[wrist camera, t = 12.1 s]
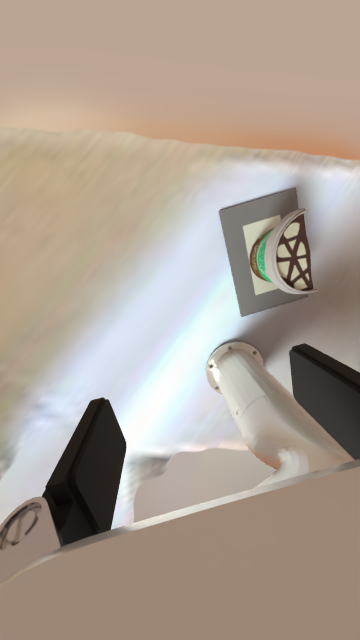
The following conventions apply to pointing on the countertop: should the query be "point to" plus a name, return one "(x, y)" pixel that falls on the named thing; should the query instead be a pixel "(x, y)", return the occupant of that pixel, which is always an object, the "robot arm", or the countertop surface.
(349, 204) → the countertop surface
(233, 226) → the mat
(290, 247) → the food container
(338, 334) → the countertop surface
